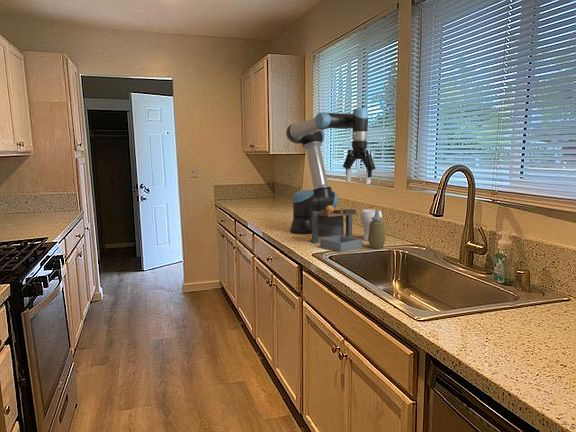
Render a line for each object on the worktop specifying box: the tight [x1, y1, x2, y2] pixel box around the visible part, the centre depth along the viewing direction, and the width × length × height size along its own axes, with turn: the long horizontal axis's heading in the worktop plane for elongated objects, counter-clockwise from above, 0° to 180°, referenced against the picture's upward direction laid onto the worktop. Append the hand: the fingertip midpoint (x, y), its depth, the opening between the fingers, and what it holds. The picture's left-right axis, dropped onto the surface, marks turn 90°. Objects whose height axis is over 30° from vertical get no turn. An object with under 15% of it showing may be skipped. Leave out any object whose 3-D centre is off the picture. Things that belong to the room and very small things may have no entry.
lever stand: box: [309, 211, 356, 244], centre depth 214 cm, size 5×24×16 cm, turn 112°
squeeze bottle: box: [368, 208, 386, 249], centre depth 197 cm, size 8×8×18 cm
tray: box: [319, 235, 363, 253], centre depth 198 cm, size 14×14×4 cm
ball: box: [326, 205, 335, 213], centre depth 207 cm, size 4×4×4 cm
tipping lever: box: [318, 208, 358, 238], centre depth 211 cm, size 18×16×14 cm
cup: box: [360, 209, 383, 242], centre depth 215 cm, size 11×11×15 cm
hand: (358, 182), depth 213 cm, fingers open, 13 cm apart
